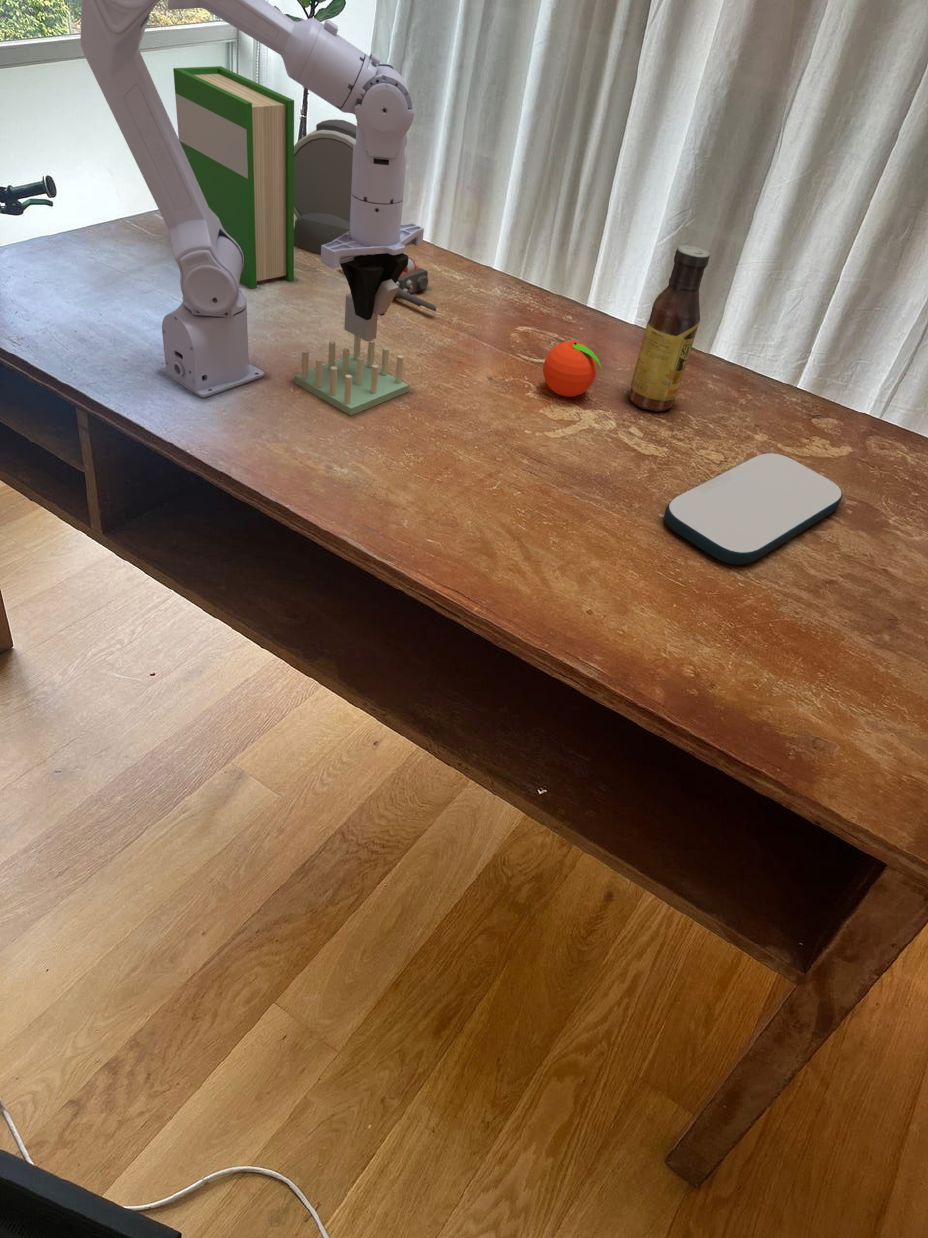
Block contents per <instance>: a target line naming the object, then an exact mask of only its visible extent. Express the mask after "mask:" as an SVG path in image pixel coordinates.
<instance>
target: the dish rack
mask: <svg viewBox="0 0 928 1238" xmlns="http://www.w3.org/2000/svg"><path fill="white" fill-rule="evenodd" d="M353 339H354V340H353V341H354V343H353V354H350V351H351V350H350V349H349V348H343V349H342V357H341V358H339V359H336V341H334V340H329V341H328V358H327V359H328V363H325V364H324V360H323V358H322V357H317V358H316V359H315V367H314V368H311V369H309V364H310V363H309V359H310V358H309V353H310V351H309V350H307V349H303V350H301V372H300V373H297V374H294V383H295V384H297V385H298V386H299V387H301V388H303V389H305V390H306V391H308V392H310V393H311V394H313V395H315V396H317V397H318V398H320V399H322V400H323V401H325V402H326V403H329V404H330V405H332V406H333V407H335V408H336V409H339V410H340V411H341V412H343V413H345V414H347V415H348V416H351V417H352V416H353V415H356V414H358V413H361V412H363V411H365V410H368V409H370V408H373V407H375V406H377V405H381V404H383V403H385V402H387V401H390V400H392V399H395V398H397V397H399V396H402V395H404V394H406V393H408V392H409V386H410V385H409V384H408V383H406V382H404V381H403V371H404V361H405V356H404V355H403V354H398V355H397V356H396V358H397V359H396V368H395V376H393V375H391V374H390V373H388V371H389V359H390V348H389V347H387V346H385V347H382V356H381V367H380V368H379V365H378V364H374V363H375V349H376V341H375V339H373V340H371V341H368V346H367V359H366V360H367V361H366V360H365V357H363V356H361V342H362V339H361V338H359V337H357V336H356V335H354V338H353Z"/></svg>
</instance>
